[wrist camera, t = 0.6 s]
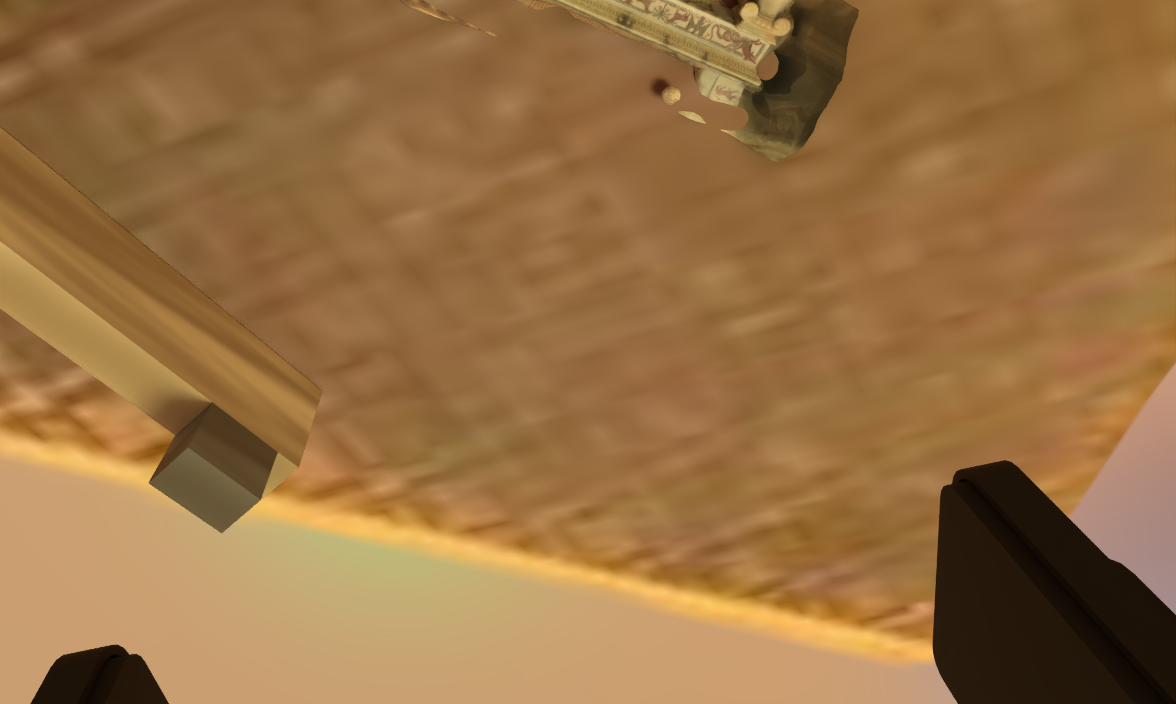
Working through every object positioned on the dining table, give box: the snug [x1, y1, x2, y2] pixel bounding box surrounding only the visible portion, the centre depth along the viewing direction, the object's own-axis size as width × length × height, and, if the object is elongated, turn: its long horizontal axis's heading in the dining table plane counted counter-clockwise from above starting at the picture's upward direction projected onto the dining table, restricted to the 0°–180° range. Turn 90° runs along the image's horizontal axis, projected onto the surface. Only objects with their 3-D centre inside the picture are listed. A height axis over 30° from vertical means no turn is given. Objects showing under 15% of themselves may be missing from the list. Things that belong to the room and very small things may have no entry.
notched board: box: [0, 127, 322, 533], centre depth 30 cm, size 2×18×9 cm, turn 40°
